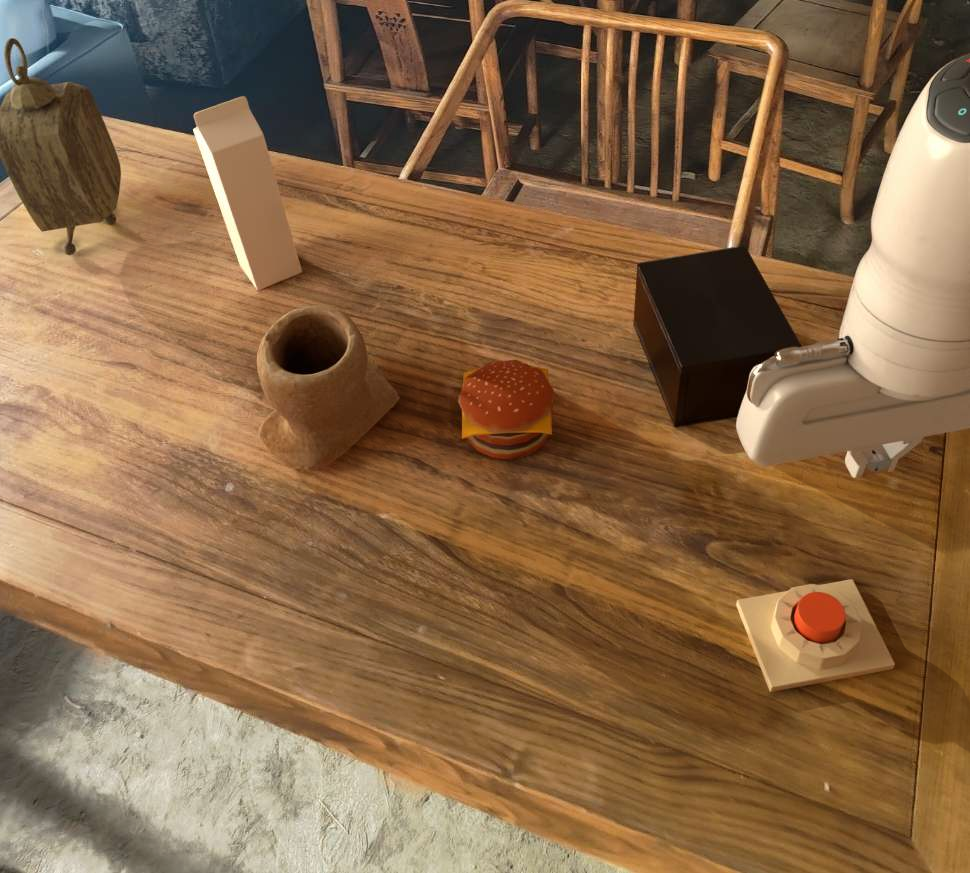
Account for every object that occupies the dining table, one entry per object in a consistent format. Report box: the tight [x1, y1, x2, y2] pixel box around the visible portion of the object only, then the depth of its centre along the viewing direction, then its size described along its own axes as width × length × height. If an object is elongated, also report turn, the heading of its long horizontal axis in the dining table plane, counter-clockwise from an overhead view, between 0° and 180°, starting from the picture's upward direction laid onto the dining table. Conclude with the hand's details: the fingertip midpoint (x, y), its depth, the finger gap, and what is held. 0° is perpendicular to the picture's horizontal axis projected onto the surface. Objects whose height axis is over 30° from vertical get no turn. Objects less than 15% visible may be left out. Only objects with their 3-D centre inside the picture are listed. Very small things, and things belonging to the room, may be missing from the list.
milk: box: [192, 95, 303, 291], centre depth 106 cm, size 6×6×22 cm
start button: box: [794, 592, 846, 643], centre depth 73 cm, size 4×4×2 cm
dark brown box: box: [632, 245, 803, 428], centre depth 95 cm, size 16×12×9 cm
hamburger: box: [457, 359, 556, 460], centre depth 92 cm, size 9×10×7 cm
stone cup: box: [256, 304, 400, 472], centre depth 90 cm, size 15×12×15 cm
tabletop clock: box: [0, 37, 122, 256], centre depth 113 cm, size 14×9×25 cm, turn 10°
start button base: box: [735, 579, 896, 693], centre depth 75 cm, size 10×8×4 cm
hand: (868, 467), depth 67 cm, fingers closed
